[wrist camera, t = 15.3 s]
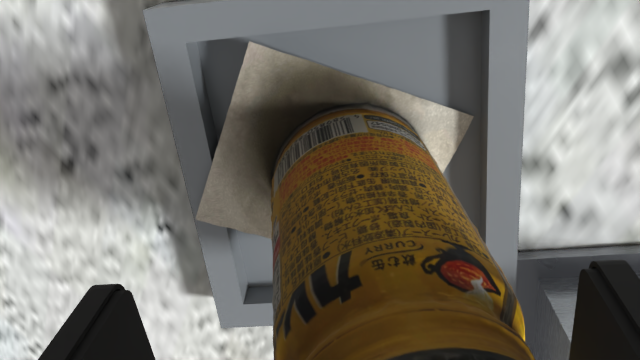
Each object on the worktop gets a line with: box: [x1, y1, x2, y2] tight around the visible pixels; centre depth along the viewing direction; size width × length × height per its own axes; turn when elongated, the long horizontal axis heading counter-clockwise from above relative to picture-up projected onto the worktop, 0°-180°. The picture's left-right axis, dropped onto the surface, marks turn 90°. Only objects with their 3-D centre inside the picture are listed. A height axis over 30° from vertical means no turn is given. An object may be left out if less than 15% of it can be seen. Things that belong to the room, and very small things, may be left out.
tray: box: [143, 0, 529, 328], centre depth 20 cm, size 13×12×2 cm
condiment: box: [196, 41, 535, 360], centre depth 15 cm, size 7×8×12 cm
